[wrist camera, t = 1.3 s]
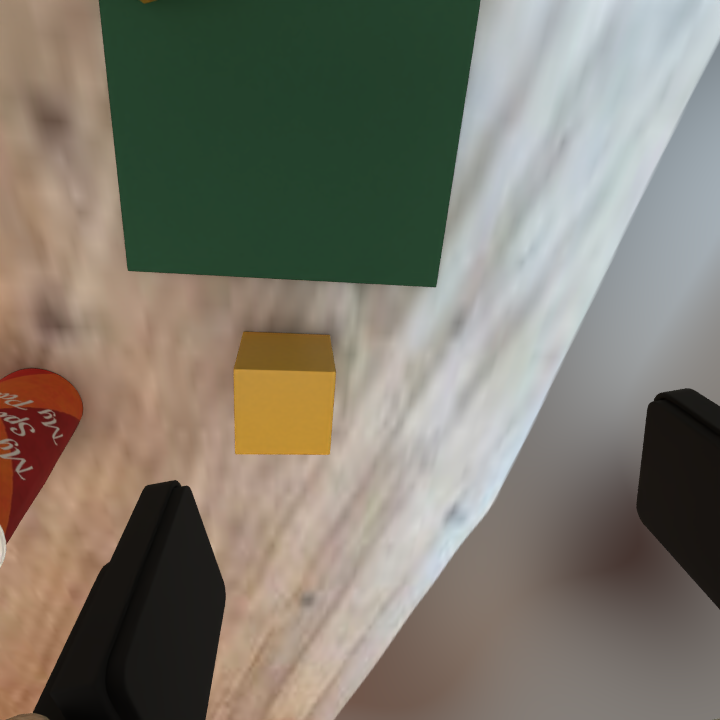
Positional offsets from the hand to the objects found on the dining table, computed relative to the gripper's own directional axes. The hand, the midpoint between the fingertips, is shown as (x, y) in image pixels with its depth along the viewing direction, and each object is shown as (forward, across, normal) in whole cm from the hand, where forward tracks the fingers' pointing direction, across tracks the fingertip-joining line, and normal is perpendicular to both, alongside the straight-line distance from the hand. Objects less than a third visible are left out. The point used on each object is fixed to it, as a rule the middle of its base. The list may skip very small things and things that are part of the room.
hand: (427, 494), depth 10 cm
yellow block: (+25, +5, +8) cm, 27 cm away
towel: (+25, +1, -10) cm, 26 cm away
